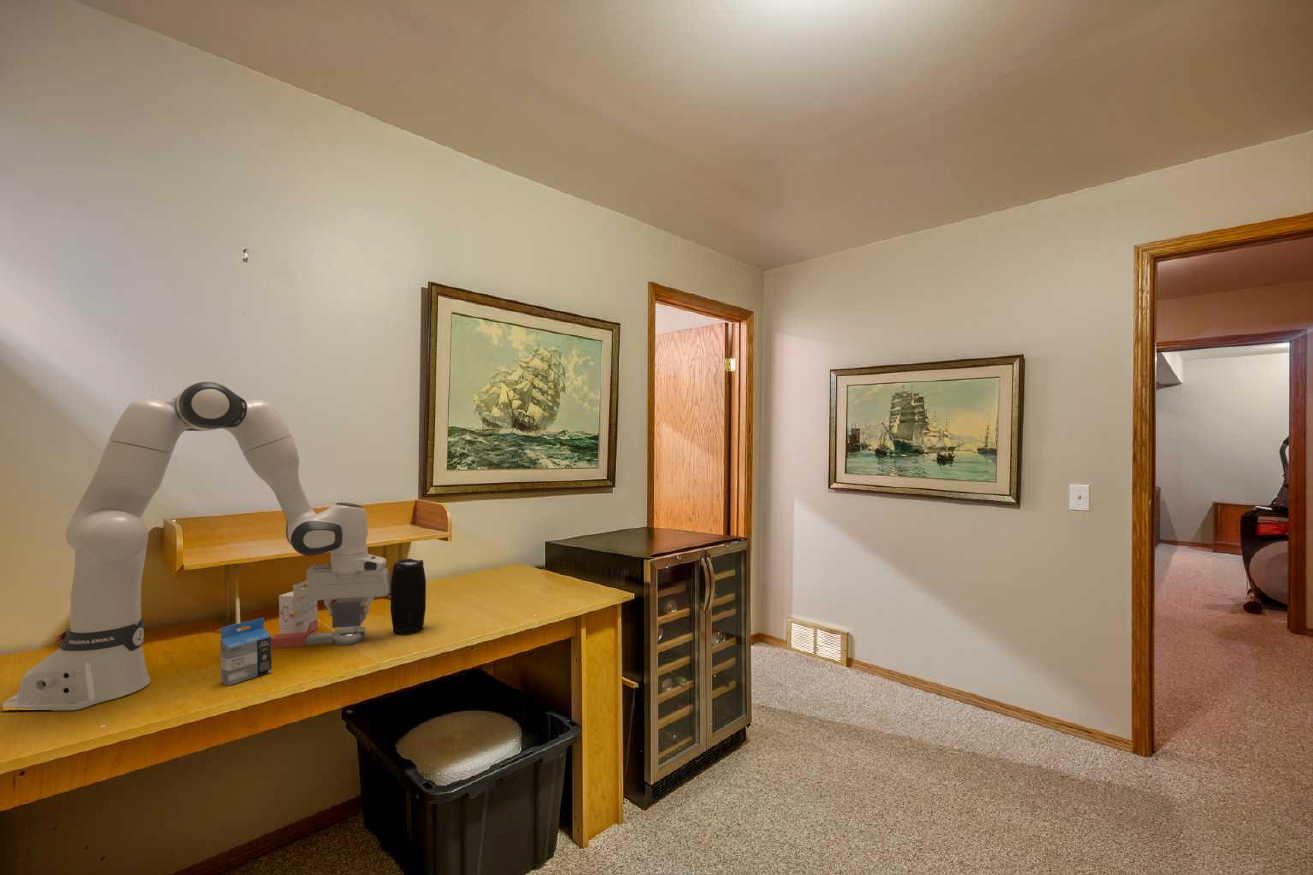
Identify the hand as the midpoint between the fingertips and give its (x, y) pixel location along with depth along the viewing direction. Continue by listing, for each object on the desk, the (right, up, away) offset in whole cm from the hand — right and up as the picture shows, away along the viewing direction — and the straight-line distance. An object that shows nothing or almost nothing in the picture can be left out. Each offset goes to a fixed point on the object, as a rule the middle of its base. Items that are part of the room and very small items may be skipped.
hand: (349, 614), depth 157 cm
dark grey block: (0, -2, 0) cm, 2 cm away
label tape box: (-11, -7, -24) cm, 27 cm away
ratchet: (-7, -7, -2) cm, 10 cm away
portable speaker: (+12, -7, +8) cm, 16 cm away
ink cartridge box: (-17, -7, +5) cm, 19 cm away
